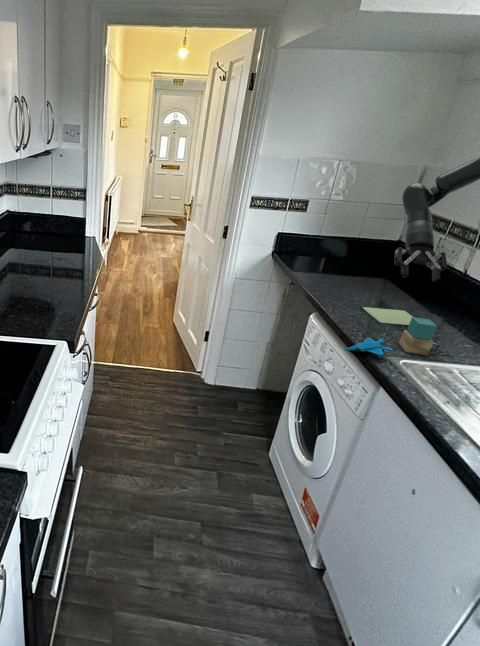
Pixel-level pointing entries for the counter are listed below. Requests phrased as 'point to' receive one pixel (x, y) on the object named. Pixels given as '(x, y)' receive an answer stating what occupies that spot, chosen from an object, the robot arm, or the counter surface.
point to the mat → (389, 315)
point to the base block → (415, 344)
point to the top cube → (421, 328)
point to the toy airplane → (370, 347)
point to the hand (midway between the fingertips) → (420, 278)
